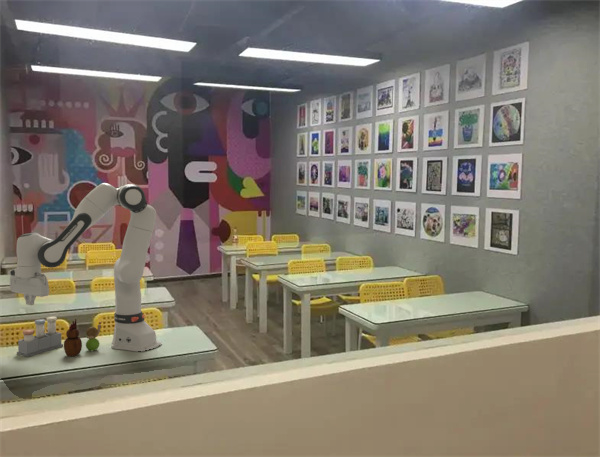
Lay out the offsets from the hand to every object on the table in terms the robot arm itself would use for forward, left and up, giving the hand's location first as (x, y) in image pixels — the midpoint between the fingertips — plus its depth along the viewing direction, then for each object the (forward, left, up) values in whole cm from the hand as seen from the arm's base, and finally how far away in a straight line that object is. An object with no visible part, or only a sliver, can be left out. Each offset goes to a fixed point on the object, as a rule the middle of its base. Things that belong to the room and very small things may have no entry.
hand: (30, 304), depth 215 cm
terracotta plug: (0, +1, -19) cm, 19 cm away
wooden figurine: (-17, -7, -21) cm, 28 cm away
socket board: (0, -5, -21) cm, 21 cm away
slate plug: (0, -5, -16) cm, 16 cm away
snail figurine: (-19, -16, -21) cm, 32 cm away
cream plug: (0, -10, -16) cm, 19 cm away
